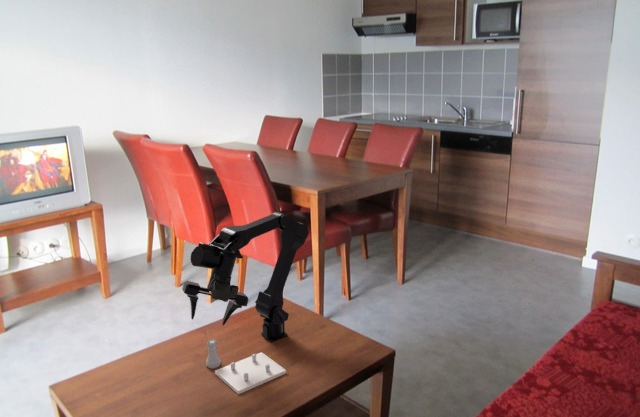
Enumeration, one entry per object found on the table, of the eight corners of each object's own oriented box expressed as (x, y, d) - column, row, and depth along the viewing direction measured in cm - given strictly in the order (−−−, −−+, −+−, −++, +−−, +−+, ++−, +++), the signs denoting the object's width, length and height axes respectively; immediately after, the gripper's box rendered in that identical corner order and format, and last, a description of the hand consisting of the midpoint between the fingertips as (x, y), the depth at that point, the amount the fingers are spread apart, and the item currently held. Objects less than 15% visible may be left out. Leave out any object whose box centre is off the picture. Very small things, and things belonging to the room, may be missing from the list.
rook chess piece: (203, 365, 161) (201, 341, 159) (215, 359, 165) (213, 335, 162) (212, 370, 159) (210, 346, 156) (224, 364, 162) (222, 340, 160)
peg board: (261, 355, 167) (261, 346, 166) (286, 373, 157) (285, 364, 156) (215, 373, 157) (214, 364, 156) (238, 394, 147) (237, 384, 146)
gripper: (194, 268, 147) (178, 323, 147) (259, 283, 154) (243, 336, 154) (189, 261, 158) (174, 313, 158) (250, 275, 165) (235, 325, 164)
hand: (207, 322), depth 158 cm, fingers open, 9 cm apart
